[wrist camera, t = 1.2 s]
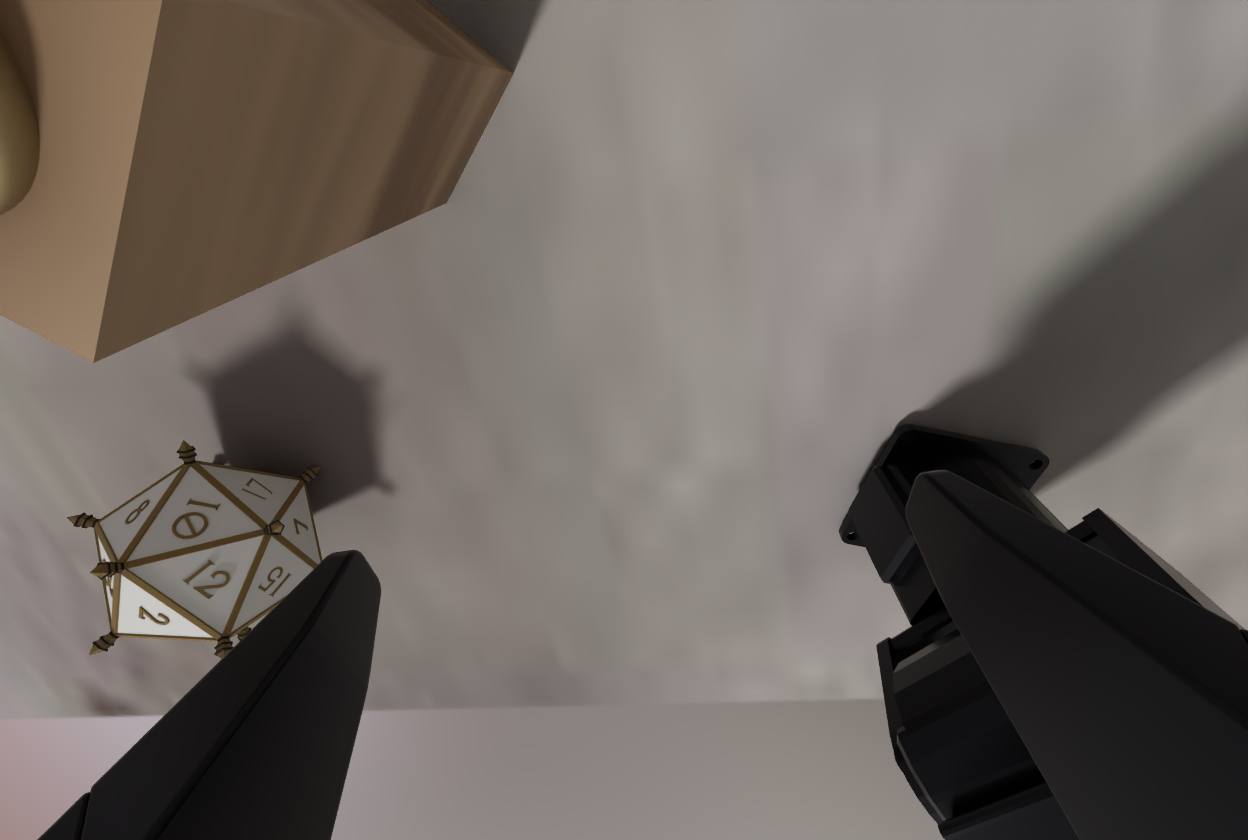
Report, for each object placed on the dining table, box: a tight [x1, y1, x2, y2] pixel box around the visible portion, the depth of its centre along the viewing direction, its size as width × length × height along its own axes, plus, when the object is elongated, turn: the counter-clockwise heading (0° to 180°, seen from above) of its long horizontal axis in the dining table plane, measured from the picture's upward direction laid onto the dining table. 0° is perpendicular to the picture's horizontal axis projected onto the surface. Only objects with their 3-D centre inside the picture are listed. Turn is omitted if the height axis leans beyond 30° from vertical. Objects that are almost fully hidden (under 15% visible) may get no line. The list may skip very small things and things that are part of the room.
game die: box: [67, 440, 322, 659], centre depth 22 cm, size 9×8×10 cm
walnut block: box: [0, 0, 513, 363], centre depth 10 cm, size 5×5×14 cm
